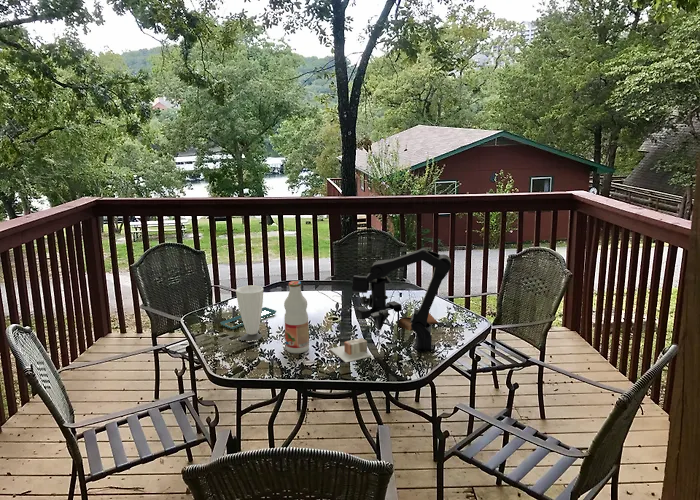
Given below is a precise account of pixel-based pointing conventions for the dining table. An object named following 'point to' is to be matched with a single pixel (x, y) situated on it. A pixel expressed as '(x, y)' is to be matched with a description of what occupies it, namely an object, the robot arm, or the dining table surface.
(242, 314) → the cup
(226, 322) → the teal flat open frame
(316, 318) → the dining table surface
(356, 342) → the tall block
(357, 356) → the beige flat slab
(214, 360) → the dining table surface
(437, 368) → the dining table surface
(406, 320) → the sunglasses case
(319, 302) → the dining table surface
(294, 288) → the fruit juice
